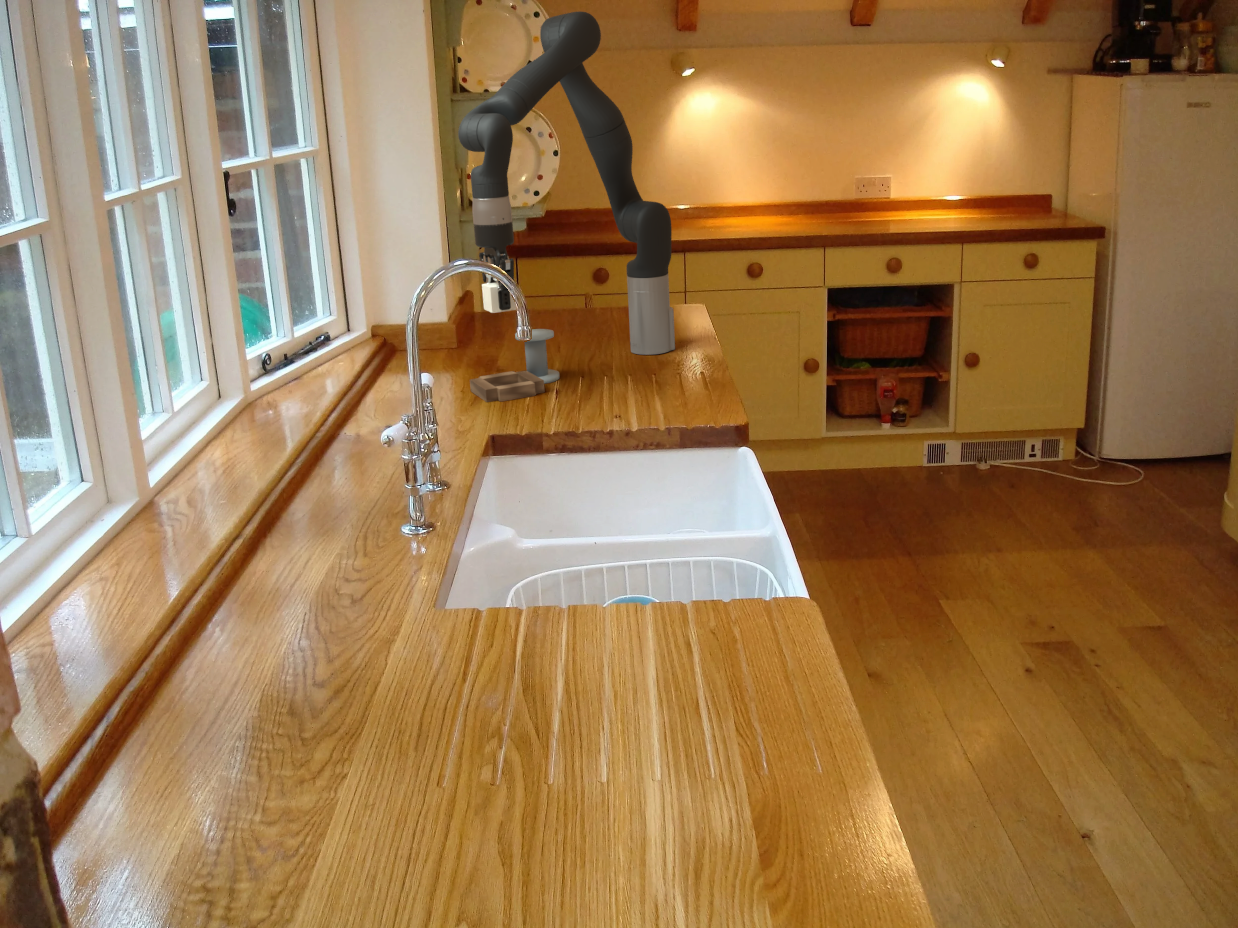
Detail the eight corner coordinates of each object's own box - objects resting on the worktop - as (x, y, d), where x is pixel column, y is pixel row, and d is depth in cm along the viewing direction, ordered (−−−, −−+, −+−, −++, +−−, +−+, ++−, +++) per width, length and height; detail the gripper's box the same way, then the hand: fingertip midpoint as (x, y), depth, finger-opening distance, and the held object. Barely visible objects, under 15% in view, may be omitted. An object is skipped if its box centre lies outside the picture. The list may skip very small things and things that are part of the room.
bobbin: (549, 371, 261) (546, 326, 257) (566, 380, 253) (562, 333, 250) (510, 378, 257) (506, 332, 254) (525, 386, 249) (521, 340, 246)
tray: (525, 381, 254) (524, 369, 253) (546, 393, 243) (545, 381, 242) (468, 390, 249) (467, 378, 248) (488, 403, 239) (487, 391, 238)
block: (507, 306, 244) (505, 281, 242) (516, 309, 240) (514, 284, 238) (484, 309, 242) (481, 284, 240) (492, 313, 238) (490, 287, 236)
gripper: (524, 222, 231) (531, 310, 236) (498, 215, 243) (505, 299, 248) (486, 226, 228) (494, 315, 233) (462, 219, 240) (470, 304, 246)
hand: (500, 307), depth 241 cm, fingers closed on block, 5 cm apart
